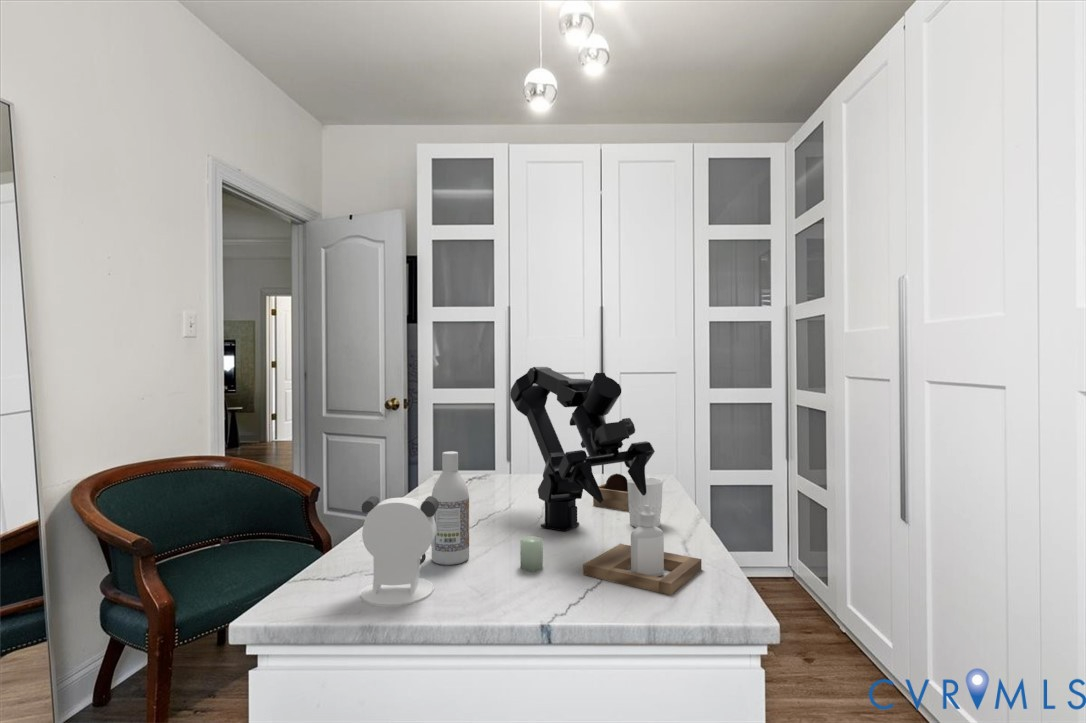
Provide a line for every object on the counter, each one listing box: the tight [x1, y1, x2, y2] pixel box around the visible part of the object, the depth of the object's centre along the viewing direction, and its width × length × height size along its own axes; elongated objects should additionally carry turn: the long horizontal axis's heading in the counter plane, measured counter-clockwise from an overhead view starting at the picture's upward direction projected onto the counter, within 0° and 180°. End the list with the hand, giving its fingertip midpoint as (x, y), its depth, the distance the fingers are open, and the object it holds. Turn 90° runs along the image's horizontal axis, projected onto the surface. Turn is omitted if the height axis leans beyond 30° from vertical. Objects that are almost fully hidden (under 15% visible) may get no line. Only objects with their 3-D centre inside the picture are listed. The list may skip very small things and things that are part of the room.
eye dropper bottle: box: [630, 505, 665, 578], centre depth 103 cm, size 4×6×12 cm
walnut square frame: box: [582, 543, 702, 596], centre depth 104 cm, size 16×14×2 cm
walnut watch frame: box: [592, 483, 629, 512], centre depth 153 cm, size 11×11×4 cm
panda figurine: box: [360, 495, 439, 608], centre depth 95 cm, size 12×11×15 cm
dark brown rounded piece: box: [605, 473, 628, 492], centre depth 153 cm, size 8×8×7 cm
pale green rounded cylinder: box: [519, 536, 544, 573], centre depth 107 cm, size 4×4×5 cm
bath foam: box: [430, 450, 470, 566], centre depth 111 cm, size 7×7×20 cm
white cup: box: [627, 476, 663, 528], centre depth 134 cm, size 8×8×10 cm
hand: (623, 498), depth 110 cm, fingers open, 9 cm apart
